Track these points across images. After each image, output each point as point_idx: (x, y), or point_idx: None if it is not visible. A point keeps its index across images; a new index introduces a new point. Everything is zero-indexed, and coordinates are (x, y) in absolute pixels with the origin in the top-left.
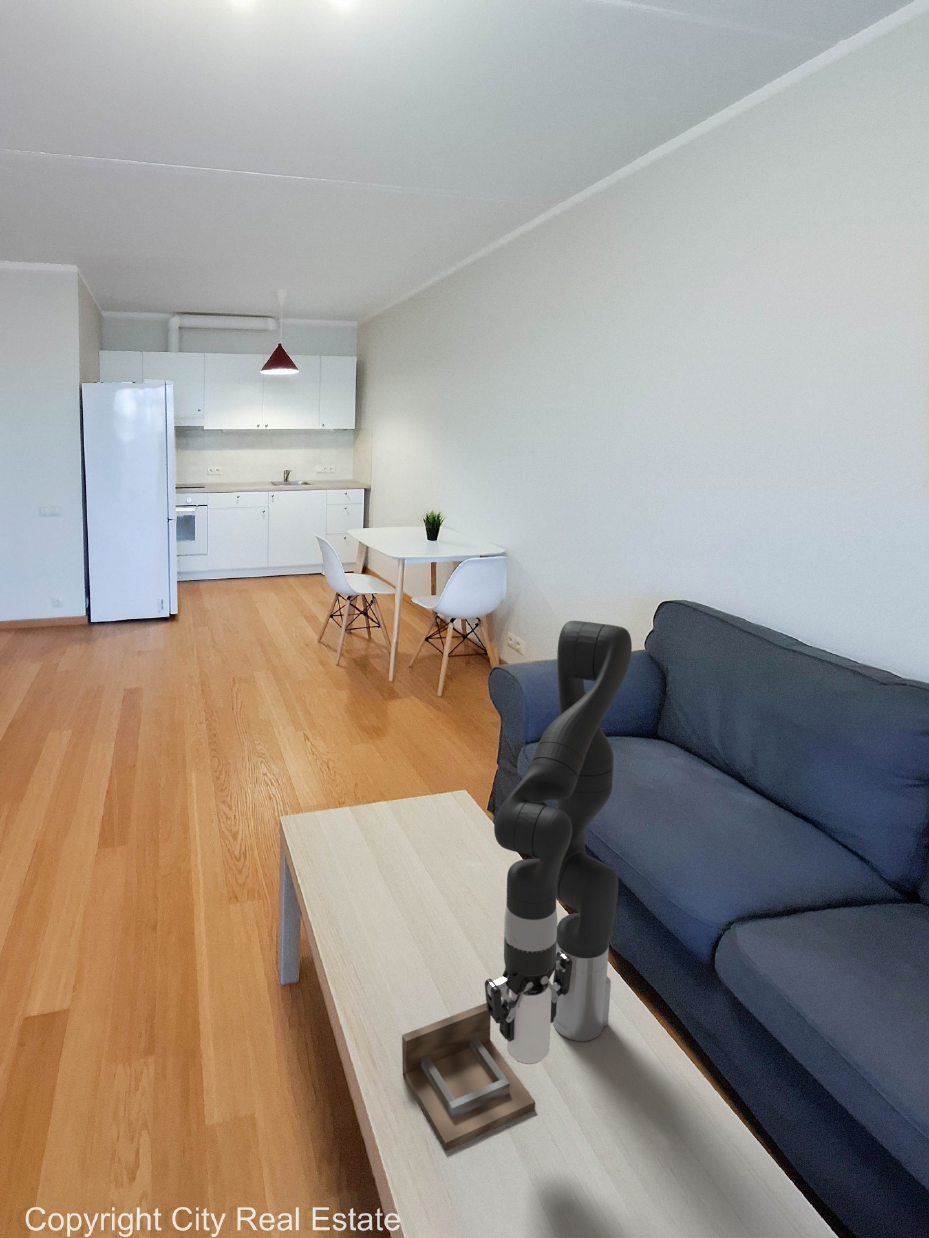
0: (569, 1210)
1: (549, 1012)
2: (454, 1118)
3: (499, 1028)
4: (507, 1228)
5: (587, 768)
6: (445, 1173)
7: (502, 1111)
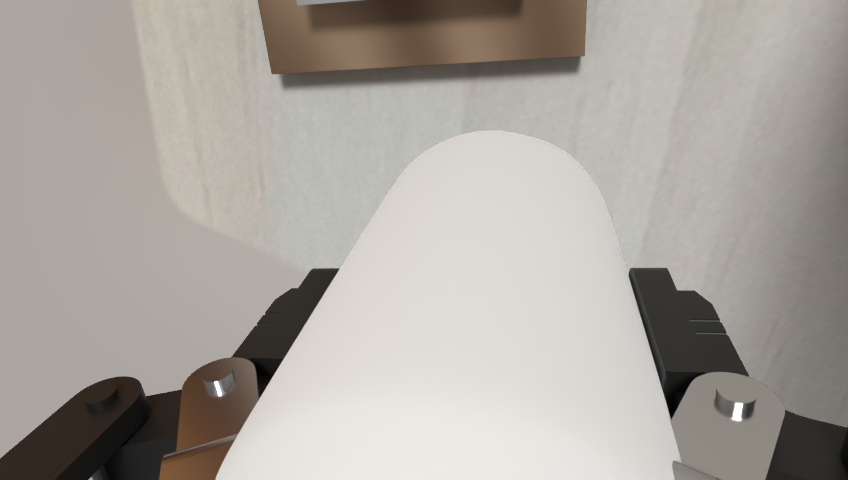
0: None
1: None
2: (319, 5)
3: (268, 309)
4: None
5: None
6: (267, 128)
7: (467, 45)
